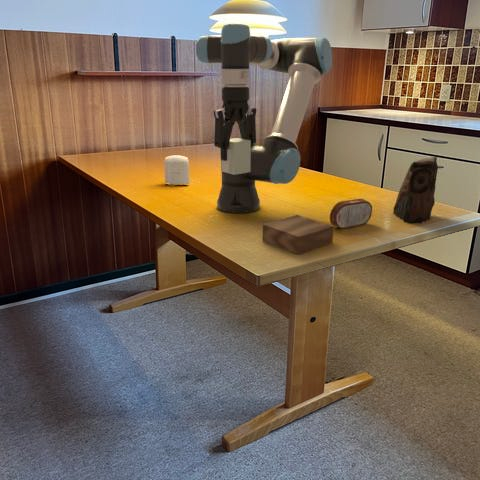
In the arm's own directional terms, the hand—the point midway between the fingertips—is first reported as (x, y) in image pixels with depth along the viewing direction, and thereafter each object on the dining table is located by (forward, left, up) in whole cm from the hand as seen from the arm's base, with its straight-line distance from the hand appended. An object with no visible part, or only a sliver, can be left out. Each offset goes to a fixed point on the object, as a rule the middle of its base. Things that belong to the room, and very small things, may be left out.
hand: (235, 170), depth 140 cm
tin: (+19, +31, -19) cm, 41 cm away
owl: (+26, +54, -19) cm, 63 cm away
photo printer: (-62, +20, -19) cm, 68 cm away
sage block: (0, 0, 0) cm, 0 cm away
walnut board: (+18, +8, -19) cm, 27 cm away
